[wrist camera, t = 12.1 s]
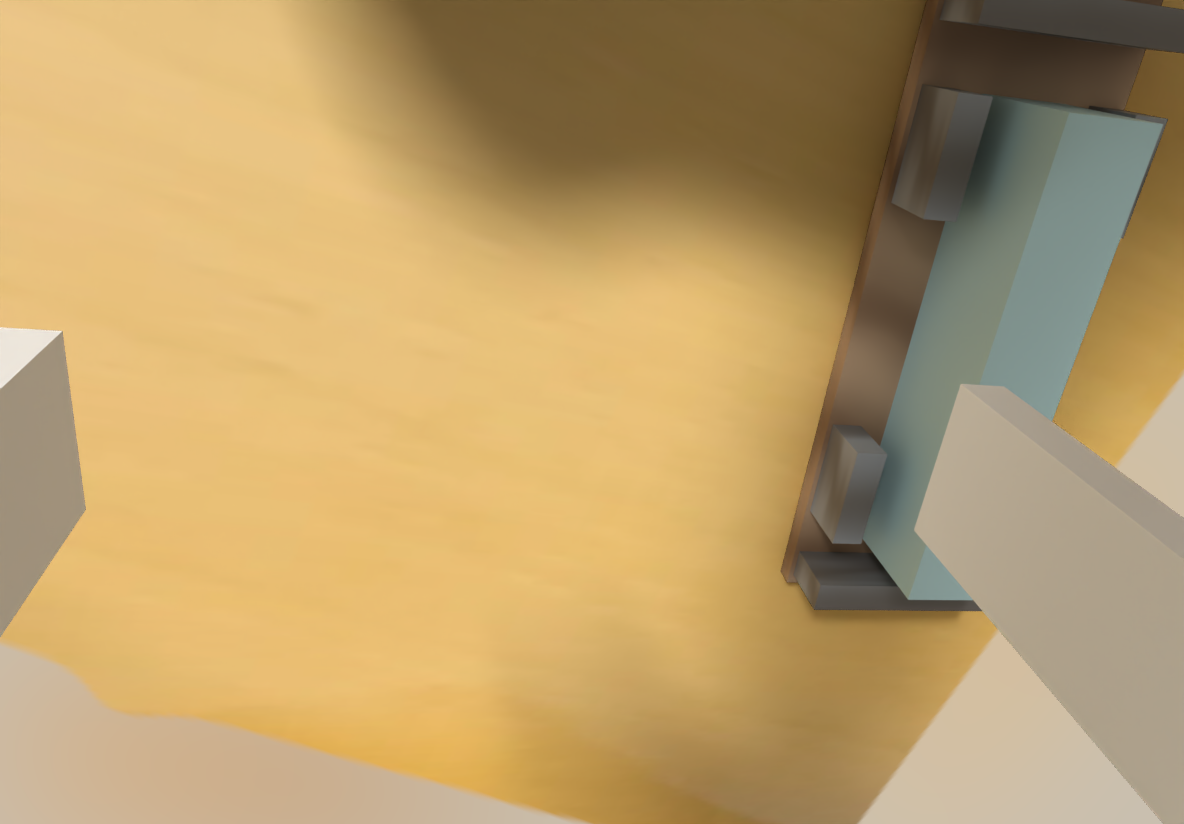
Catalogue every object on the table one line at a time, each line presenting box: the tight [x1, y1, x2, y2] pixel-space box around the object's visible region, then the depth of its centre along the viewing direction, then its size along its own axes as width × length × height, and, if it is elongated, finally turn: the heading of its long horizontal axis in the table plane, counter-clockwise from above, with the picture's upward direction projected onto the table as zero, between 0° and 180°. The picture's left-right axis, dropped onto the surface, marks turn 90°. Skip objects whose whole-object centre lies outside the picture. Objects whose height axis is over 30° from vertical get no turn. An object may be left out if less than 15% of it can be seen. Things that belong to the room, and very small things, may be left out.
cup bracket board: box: [781, 0, 1184, 611], centre depth 42 cm, size 30×10×4 cm, turn 173°
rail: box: [863, 94, 1163, 600], centre depth 41 cm, size 22×4×6 cm, turn 173°
